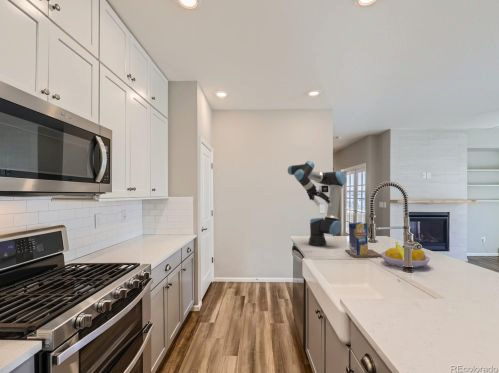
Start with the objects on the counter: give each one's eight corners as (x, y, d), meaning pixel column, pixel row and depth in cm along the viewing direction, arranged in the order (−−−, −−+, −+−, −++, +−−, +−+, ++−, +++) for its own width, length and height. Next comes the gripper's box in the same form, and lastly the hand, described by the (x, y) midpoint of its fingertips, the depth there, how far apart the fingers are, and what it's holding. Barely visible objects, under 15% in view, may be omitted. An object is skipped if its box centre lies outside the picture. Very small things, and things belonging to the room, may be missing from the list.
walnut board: (345, 251, 202) (345, 249, 202) (371, 251, 201) (371, 249, 201) (353, 257, 182) (353, 256, 182) (383, 257, 181) (383, 256, 181)
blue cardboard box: (368, 253, 189) (367, 223, 189) (357, 255, 184) (356, 224, 184) (360, 251, 195) (359, 222, 195) (349, 253, 190) (348, 223, 190)
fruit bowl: (432, 273, 146) (431, 253, 146) (378, 267, 160) (377, 248, 160) (429, 261, 169) (428, 244, 170) (382, 256, 184) (382, 240, 184)
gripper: (296, 190, 210) (311, 207, 216) (317, 189, 188) (333, 209, 194) (301, 183, 212) (316, 201, 219) (323, 182, 190) (338, 202, 197)
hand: (324, 205), depth 207 cm, fingers open, 13 cm apart
